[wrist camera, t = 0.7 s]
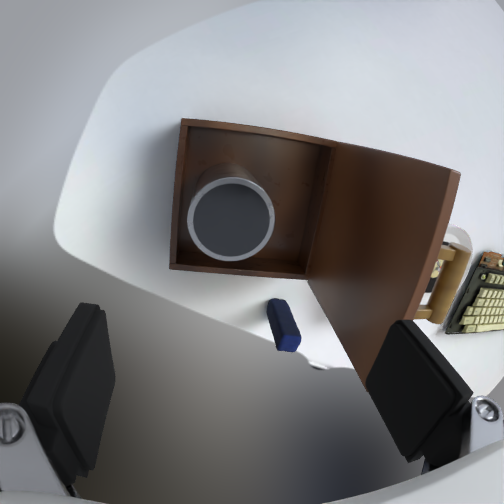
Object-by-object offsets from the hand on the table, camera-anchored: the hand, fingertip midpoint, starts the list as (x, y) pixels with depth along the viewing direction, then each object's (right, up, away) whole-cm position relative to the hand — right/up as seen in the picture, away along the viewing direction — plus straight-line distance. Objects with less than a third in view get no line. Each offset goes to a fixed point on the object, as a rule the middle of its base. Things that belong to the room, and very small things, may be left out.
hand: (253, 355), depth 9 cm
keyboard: (+53, -5, +33) cm, 63 cm away
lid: (+7, +4, +11) cm, 13 cm away
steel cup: (-2, +8, +19) cm, 21 cm away
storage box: (0, +9, +20) cm, 22 cm away
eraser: (+3, -3, +25) cm, 26 cm away
